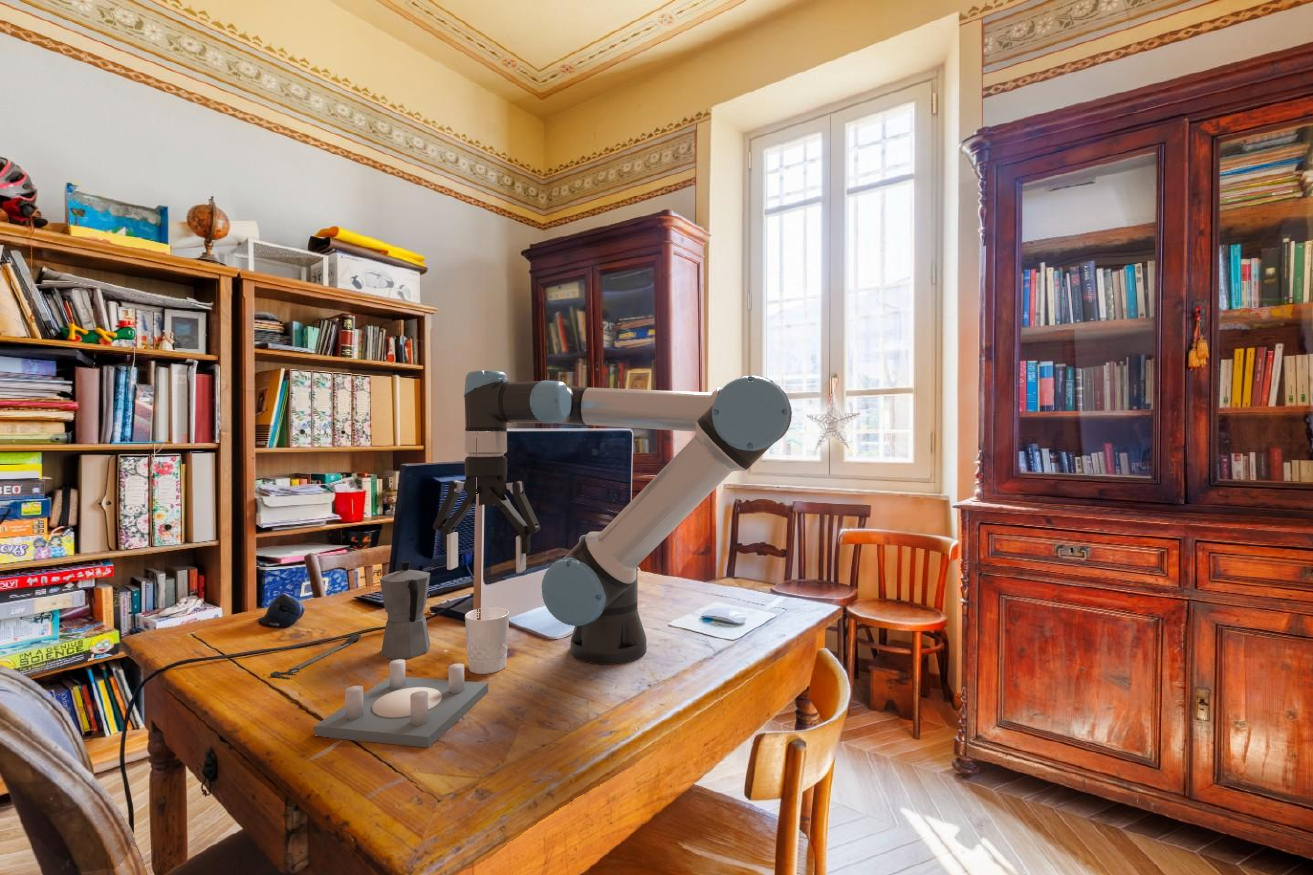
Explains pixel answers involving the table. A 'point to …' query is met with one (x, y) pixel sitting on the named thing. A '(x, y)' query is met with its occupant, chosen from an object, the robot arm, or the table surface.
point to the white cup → (487, 640)
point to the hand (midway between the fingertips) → (486, 569)
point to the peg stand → (403, 708)
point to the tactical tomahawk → (315, 658)
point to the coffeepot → (405, 613)
